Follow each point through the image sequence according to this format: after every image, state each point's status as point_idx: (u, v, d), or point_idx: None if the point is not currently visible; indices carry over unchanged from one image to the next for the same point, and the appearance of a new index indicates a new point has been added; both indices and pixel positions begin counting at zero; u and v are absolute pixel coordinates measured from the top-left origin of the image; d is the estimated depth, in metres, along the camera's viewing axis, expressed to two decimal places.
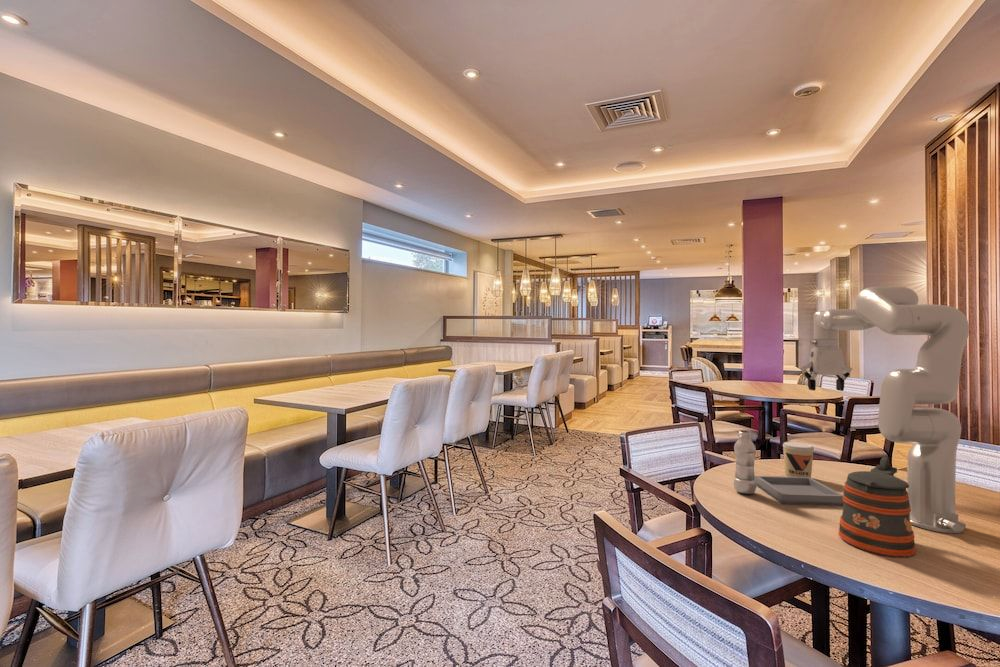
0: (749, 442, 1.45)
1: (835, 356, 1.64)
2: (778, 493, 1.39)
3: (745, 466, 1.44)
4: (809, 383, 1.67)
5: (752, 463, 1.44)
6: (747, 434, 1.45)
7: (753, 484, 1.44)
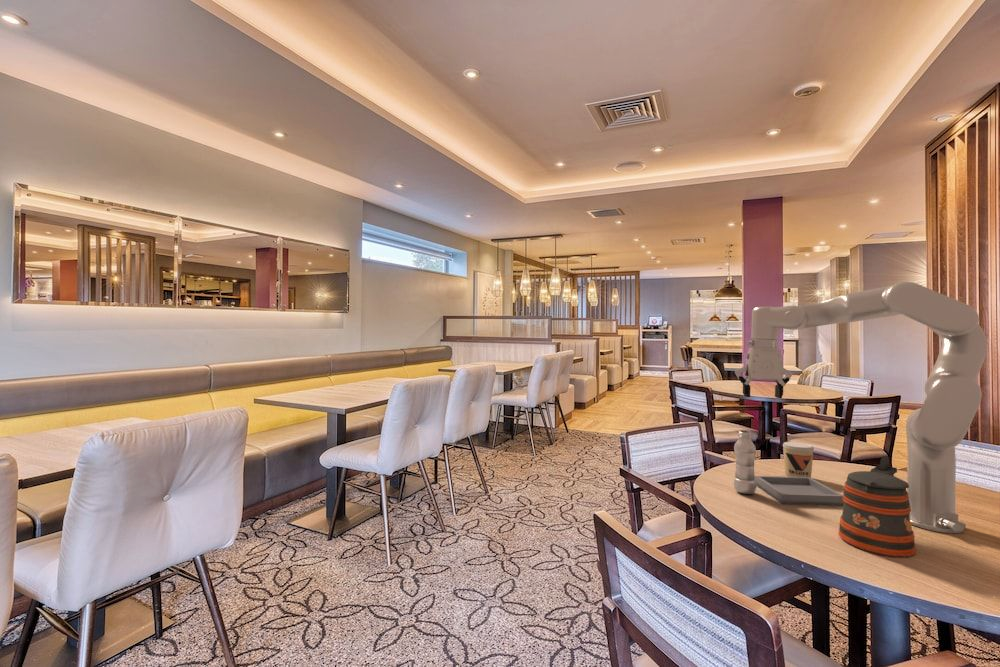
0: (749, 442, 1.45)
1: (773, 359, 1.43)
2: (778, 493, 1.39)
3: (745, 466, 1.44)
4: (744, 389, 1.47)
5: (752, 463, 1.44)
6: (747, 434, 1.45)
7: (753, 484, 1.44)
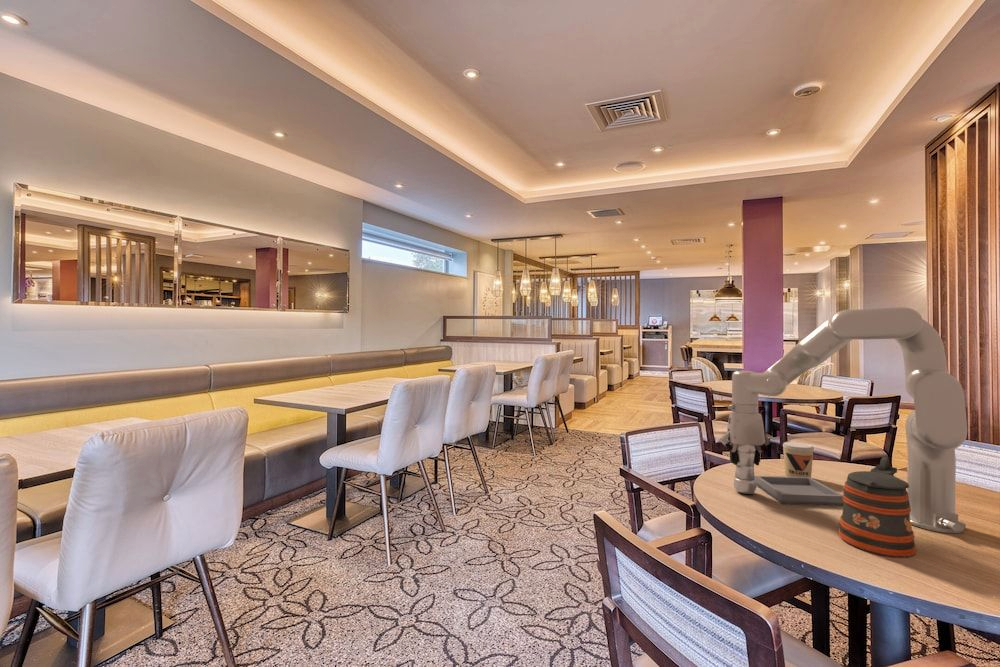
0: None
1: (754, 424, 1.44)
2: (778, 493, 1.39)
3: (745, 466, 1.44)
4: (731, 456, 1.47)
5: (752, 463, 1.44)
6: None
7: (753, 484, 1.44)
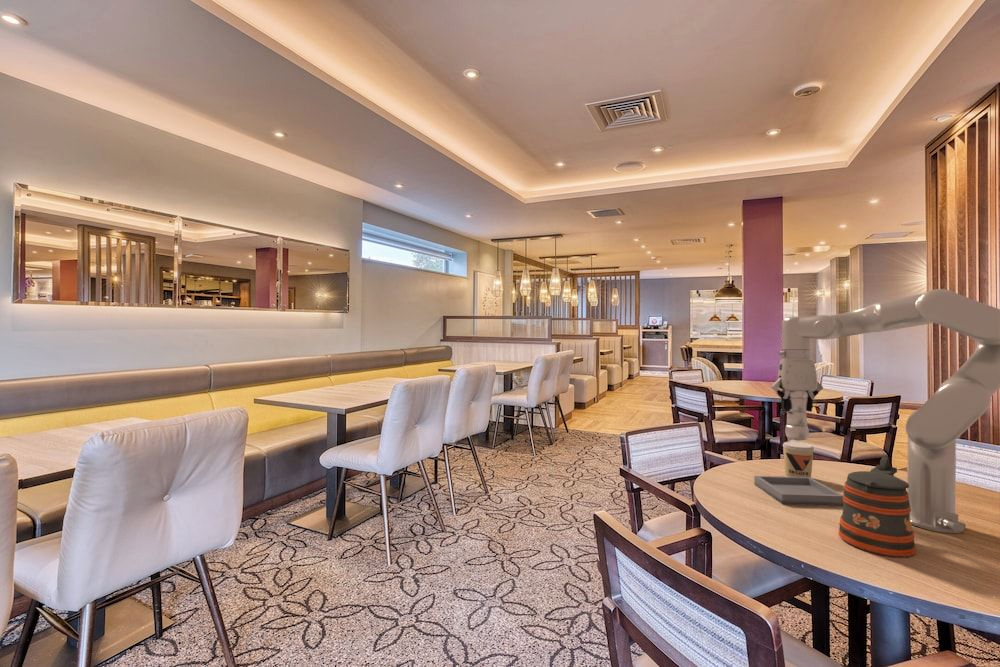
0: None
1: (806, 369, 1.42)
2: (778, 493, 1.39)
3: (798, 412, 1.43)
4: (782, 403, 1.45)
5: (805, 409, 1.43)
6: None
7: (806, 430, 1.42)
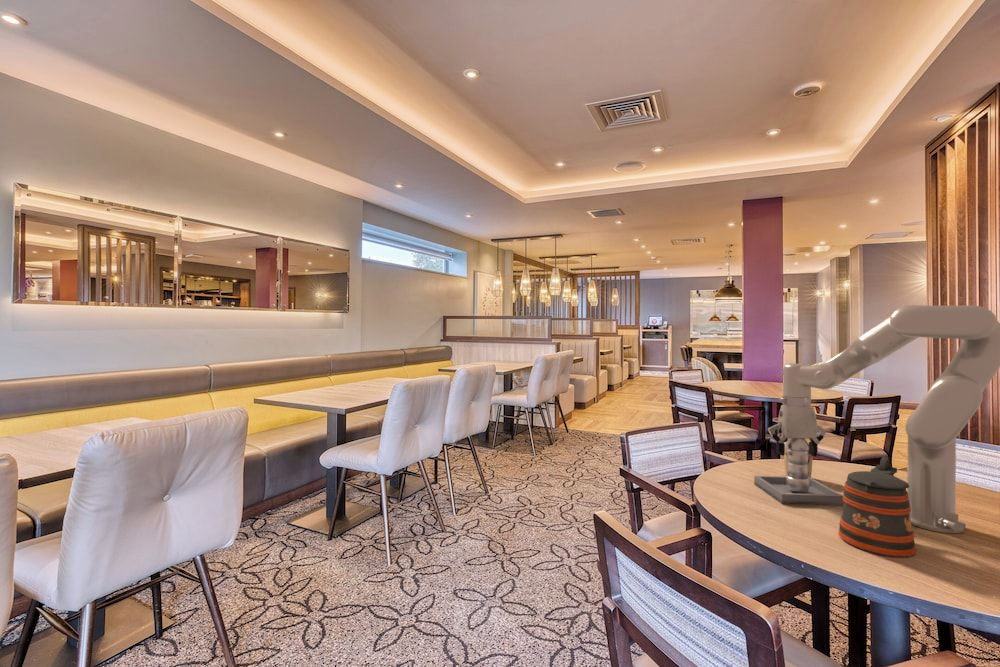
0: (803, 440, 1.43)
1: (807, 417, 1.42)
2: (778, 493, 1.39)
3: (799, 464, 1.43)
4: (778, 447, 1.45)
5: (806, 461, 1.42)
6: None
7: (807, 483, 1.42)
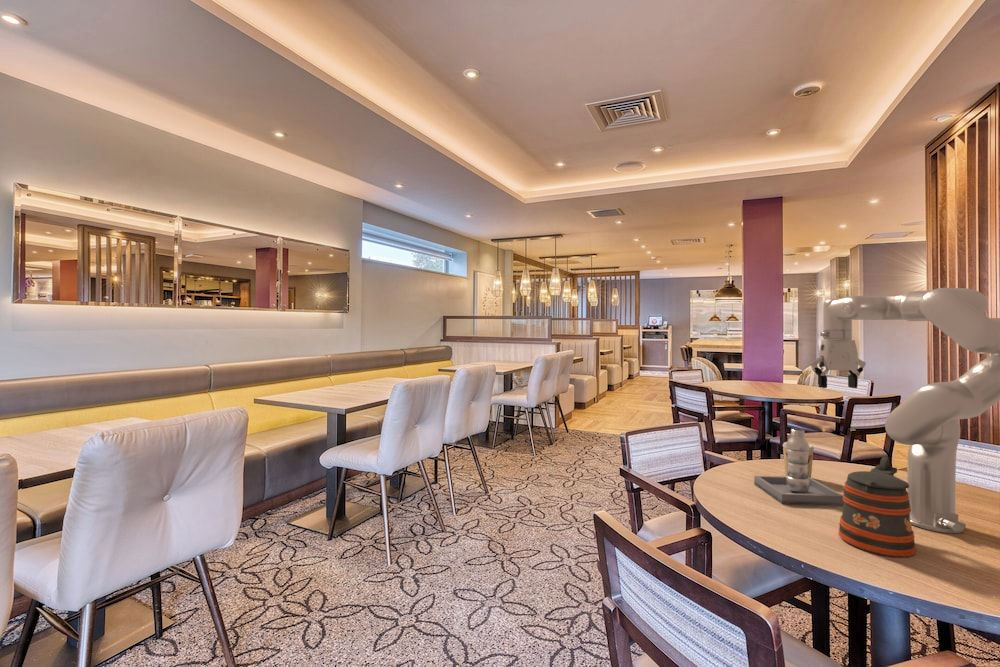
0: (803, 440, 1.43)
1: (848, 349, 1.46)
2: (778, 493, 1.39)
3: (799, 464, 1.43)
4: (820, 380, 1.48)
5: (806, 461, 1.42)
6: (801, 432, 1.43)
7: (807, 483, 1.42)
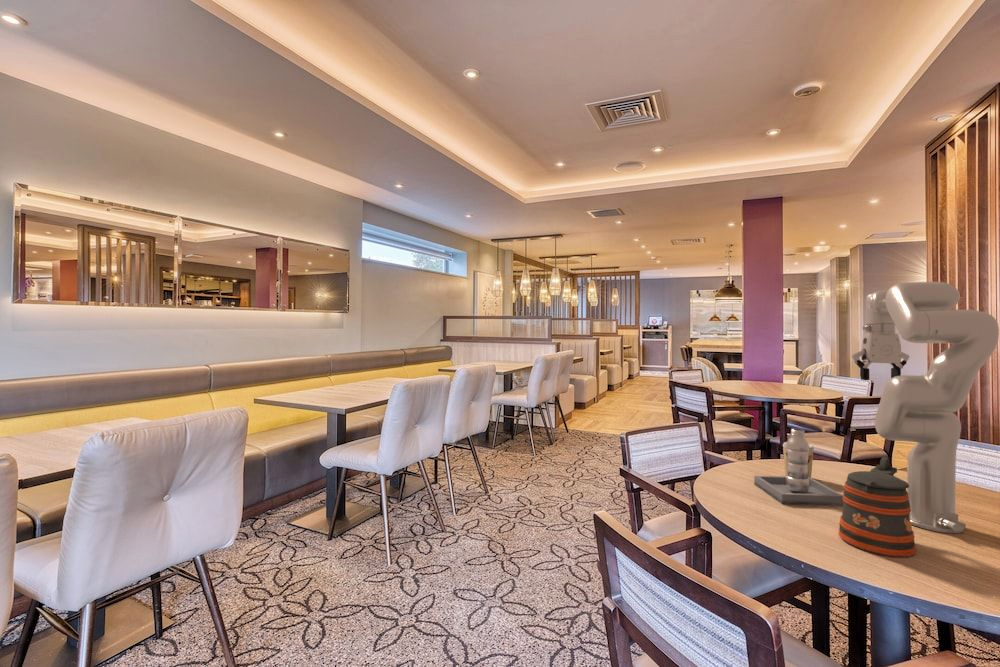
0: (803, 440, 1.43)
1: (891, 342, 1.49)
2: (778, 493, 1.39)
3: (799, 464, 1.43)
4: (862, 372, 1.52)
5: (806, 461, 1.43)
6: (801, 432, 1.43)
7: (807, 483, 1.42)
